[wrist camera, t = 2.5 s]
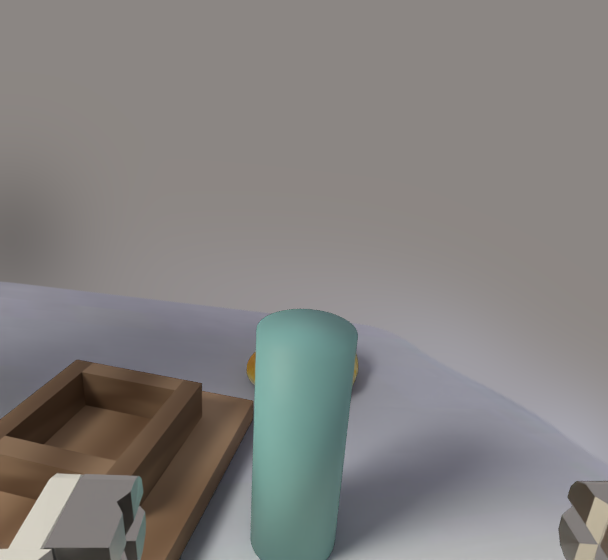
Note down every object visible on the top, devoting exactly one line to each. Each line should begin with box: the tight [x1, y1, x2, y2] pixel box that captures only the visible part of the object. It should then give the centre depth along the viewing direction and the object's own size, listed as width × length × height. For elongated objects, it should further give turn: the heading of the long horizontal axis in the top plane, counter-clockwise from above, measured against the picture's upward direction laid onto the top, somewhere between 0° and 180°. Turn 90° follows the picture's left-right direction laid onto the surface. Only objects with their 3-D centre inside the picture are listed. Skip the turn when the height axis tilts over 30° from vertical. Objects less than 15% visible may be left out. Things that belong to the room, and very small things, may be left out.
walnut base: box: [0, 360, 253, 560], centre depth 29 cm, size 14×14×4 cm
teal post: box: [251, 309, 358, 560], centre depth 24 cm, size 4×4×12 cm
